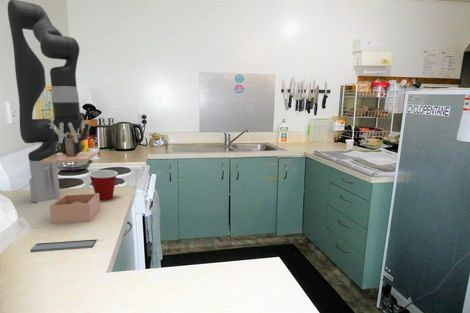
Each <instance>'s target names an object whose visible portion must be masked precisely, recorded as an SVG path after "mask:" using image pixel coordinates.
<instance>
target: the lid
mask: <svg viewBox="0 0 470 313" xmlns="http://www.w3.org/2000/svg"><path fill="white" fill-rule="evenodd" d="M64 142H65V151H66V155H63V153H61V152H57V153H56V154H54V155H52V156H50V157H48V158H45V159H43V160H41V161H42V163H50V162H56V163H72V162H73V163H75V162H80V163H81V162H88V161H89V160H91V159H92V158H94V157H95V156H97V155H98V151H81V152H80V153H79V154H75V147H74V143H75V142H74V138H66V139H64Z"/></svg>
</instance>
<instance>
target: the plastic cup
mask: <svg viewBox="0 0 470 313" xmlns="http://www.w3.org/2000/svg"><path fill="white" fill-rule="evenodd" d="M88 176H89V177H90V181H91V183H92V187H93V190H94V193H99V198H100V202H104V201H110V200H112V199H114V192H115V184H116V178H117V177H118V171H116V170H111V169H100V170H99V169H97V170H93V171H90V172H89V173H88Z"/></svg>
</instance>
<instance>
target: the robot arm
mask: <svg viewBox="0 0 470 313" xmlns="http://www.w3.org/2000/svg"><path fill="white" fill-rule="evenodd" d="M7 16H8V22H9V29H10V34H11V39H12V40H11V41H12V46H13V56H14V70H15V72H14V73H15V81H16V86H17V87H16V88H17V95H18V102H19V104H18V105H19V106H18V107H19V132H20V137H21V139H22V141H23V142H24V143H26V144H35V143H37V144H38V143H41V145H40V146H39V147H38V148H36V149H34V150H32V151H30V152H29V153H28V163H29V164H28V165H29V171H30V178H29V180H28V182H29V190H30V191H29V192H30V197H31V202H32V203H37V204H38V203H40V202H47V201H51V200H58V199H59V198H61V192H60V183H59V172H58V164H57V162H50V163H42V161H41V160H43V159H45V158H48V157H50V156H52V155H54V154H57V153H56V152H57V149H56V148H57V147H56V142H57V143H59V148H60V150H59V151H60V153H63V155H66V151H65V142H64V139H67V134H68V133H69V134H71V136H72V139H74V142H75V143H74V147H75V154H79V153H80V152H82V144H81V142H84V141H85V140H87V137H88V135H89V132H90V129H91V126H92V124H91V123H87V122H84V121H83V119H82V117H81V110H80V100H79V99H80V97H79V92H78V88H77V76H76V74H77V65H78V60H79V56H80V46H79V43H78V41H77V40H76V39H75V38H74V37H71V36H65V35H63V34H62V33H61V32H60V30H59V29H57V28H56V27H55V26H54V25H53V24H52V22H51V20H50V18H49V15H48V14H47V12H46V11H45V9H44V8H43V7H42V6H40V5H39V4H35V3H31V2H28V1H23V0H9V1H8V3H7ZM24 30H27V31H32V32H33V36H34V37H35V39H36V40H37V41H38V43H39V44H40V45H39V47H40V51H41V54H42V55H43V56H44V57H46V58H49V59H53V60H65V64H64V65H62V66H55V67H54V66H53V67H52V68H50V70H49V76H50V84H51V85H50V86H51V102H52V110H53V111H52V112H53V120H52V119H50V118H35V119H34V118H33V112H34V108H35V105H36V103H37V101H38V100H39V98H40V97H41V95H42V94H43V92H44V90H45V89H46V83H47V82H46V72H45V67H44V65H43V63H42V62H41V60H40V59H39V57H38V56H37V55H36V53H35V52H34V51H33V50H32V48H31V46H30V44H29V43H28V42H27V39H26V37H25V35H24ZM80 127H81V128H82V132H81V135H80V132H79V129H80ZM56 128H57V130H59V131H58V134H57V132H56V130H55V129H56Z"/></svg>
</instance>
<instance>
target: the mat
mask: <svg viewBox="0 0 470 313" xmlns="http://www.w3.org/2000/svg"><path fill="white" fill-rule="evenodd" d="M97 240H98V239H81V240H70V241H69V240H68V241H57V242H41V243H40V242H38V243H35V245H34V246H33V247H32V248H30V253H34V252H47V251H51V252H52V251H63V250H75V249H77V250H78V249H91V248H94V247H95V246H94V245H95V244H96V242H97Z"/></svg>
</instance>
